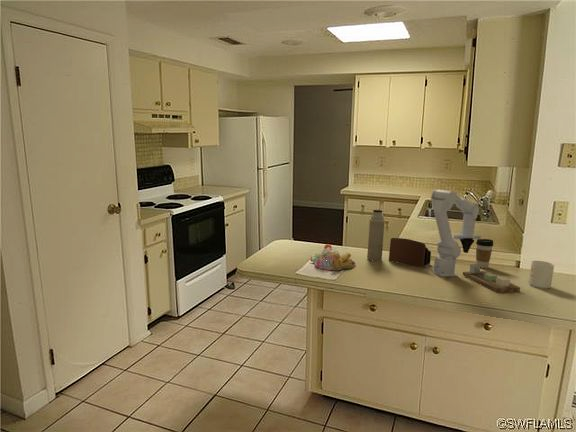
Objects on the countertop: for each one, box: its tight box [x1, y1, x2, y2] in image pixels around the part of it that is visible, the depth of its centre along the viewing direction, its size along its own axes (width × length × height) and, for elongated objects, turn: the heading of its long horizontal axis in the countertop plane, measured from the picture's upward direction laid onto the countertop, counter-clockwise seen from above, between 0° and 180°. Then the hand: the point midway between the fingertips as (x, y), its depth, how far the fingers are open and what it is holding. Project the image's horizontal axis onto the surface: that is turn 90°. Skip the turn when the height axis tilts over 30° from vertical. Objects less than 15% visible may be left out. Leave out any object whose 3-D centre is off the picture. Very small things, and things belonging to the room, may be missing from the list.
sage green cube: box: [484, 272, 498, 281], centre depth 188 cm, size 4×4×4 cm
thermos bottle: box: [366, 209, 386, 262], centre depth 221 cm, size 8×8×28 cm
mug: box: [528, 260, 555, 290], centre depth 187 cm, size 12×9×11 cm
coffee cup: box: [475, 238, 494, 269], centre depth 214 cm, size 8×8×15 cm
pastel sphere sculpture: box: [309, 243, 356, 271], centre depth 211 cm, size 25×24×9 cm
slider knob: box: [469, 263, 481, 274], centre depth 195 cm, size 3×4×4 cm
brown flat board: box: [462, 270, 521, 294], centre depth 188 cm, size 12×24×2 cm, turn 12°
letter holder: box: [388, 237, 432, 269], centre depth 218 cm, size 10×20×14 cm, turn 50°
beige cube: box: [495, 276, 511, 287], centre depth 180 cm, size 4×4×4 cm
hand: (465, 252), depth 207 cm, fingers closed
